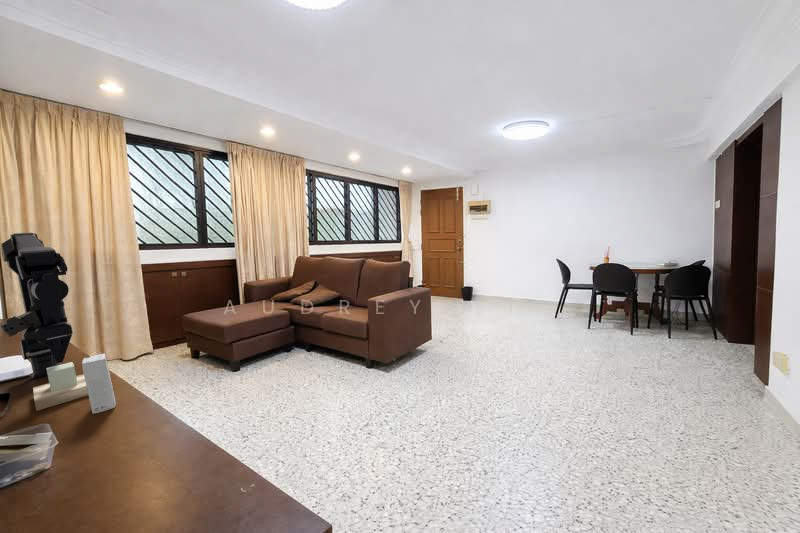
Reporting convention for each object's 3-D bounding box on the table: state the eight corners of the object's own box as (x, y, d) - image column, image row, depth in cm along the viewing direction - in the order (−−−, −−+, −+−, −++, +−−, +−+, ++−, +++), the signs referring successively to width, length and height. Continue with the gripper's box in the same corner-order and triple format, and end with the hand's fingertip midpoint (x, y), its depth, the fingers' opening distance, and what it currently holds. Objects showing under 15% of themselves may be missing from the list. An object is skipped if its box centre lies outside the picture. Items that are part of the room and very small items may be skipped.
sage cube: (50, 386, 93) (46, 368, 92) (75, 379, 96) (72, 361, 96) (51, 391, 89) (47, 372, 89) (77, 384, 93) (74, 366, 92)
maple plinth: (35, 396, 93) (33, 387, 93) (90, 381, 101) (88, 372, 101) (36, 410, 85) (34, 401, 85) (96, 392, 93) (94, 383, 93)
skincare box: (116, 407, 84) (107, 358, 82) (90, 415, 81) (81, 364, 79) (115, 398, 88) (107, 352, 87) (91, 405, 86) (82, 357, 84)
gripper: (0, 302, 90) (13, 361, 92) (-3, 311, 78) (12, 379, 80) (60, 294, 98) (71, 348, 100) (66, 300, 86) (78, 362, 88)
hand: (58, 358), depth 92 cm, fingers open, 9 cm apart
